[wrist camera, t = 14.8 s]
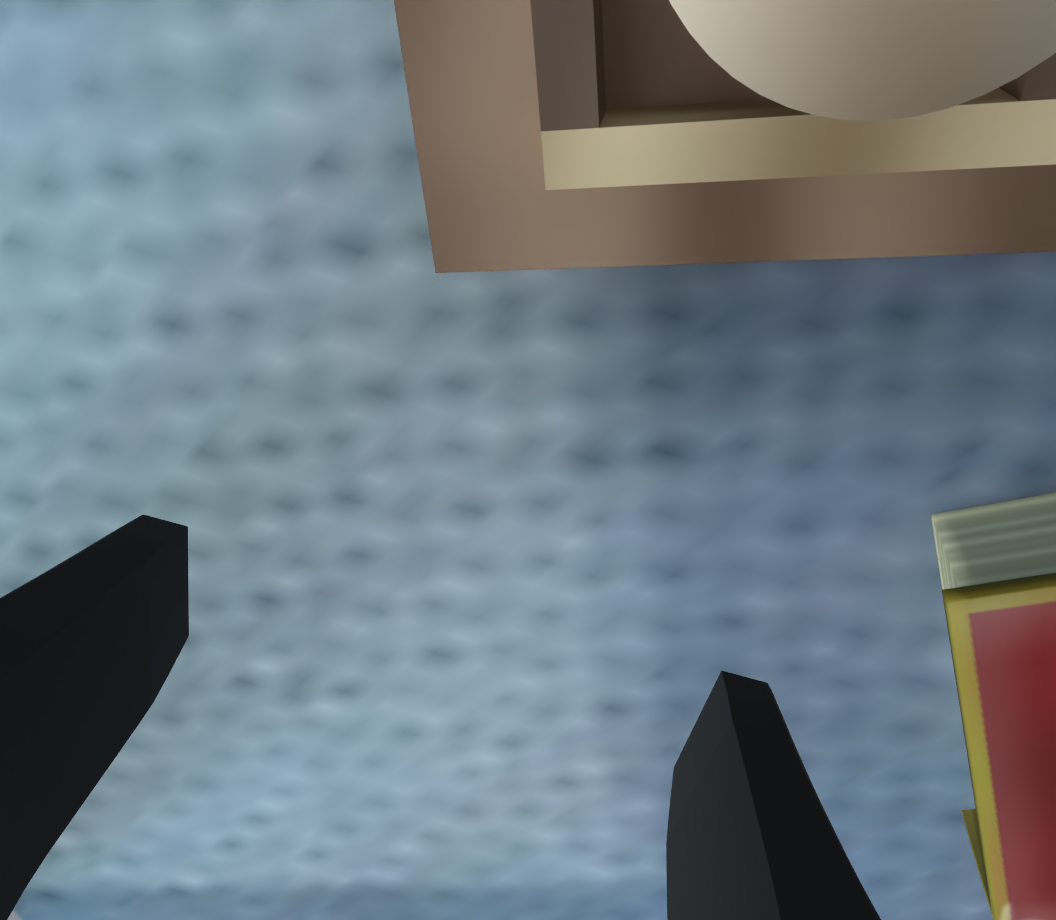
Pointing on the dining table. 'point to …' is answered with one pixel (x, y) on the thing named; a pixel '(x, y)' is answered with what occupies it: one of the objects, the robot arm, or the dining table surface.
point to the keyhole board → (692, 151)
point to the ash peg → (872, 50)
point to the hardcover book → (1006, 691)
